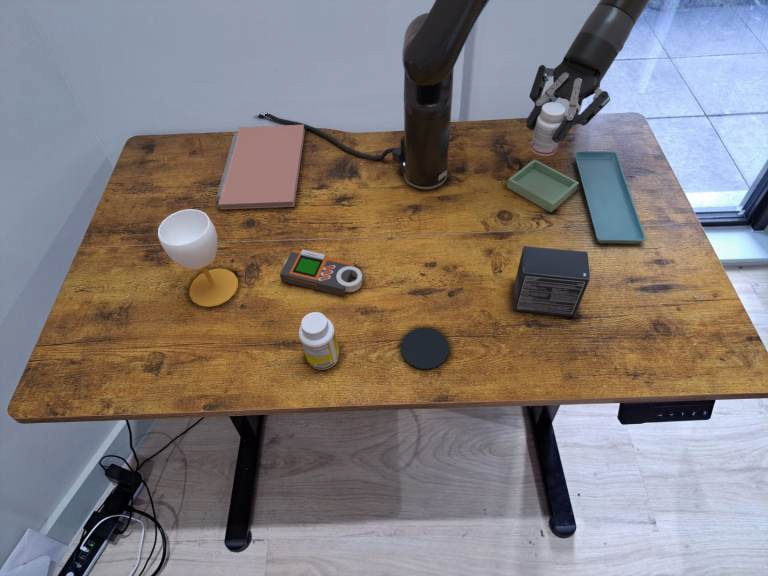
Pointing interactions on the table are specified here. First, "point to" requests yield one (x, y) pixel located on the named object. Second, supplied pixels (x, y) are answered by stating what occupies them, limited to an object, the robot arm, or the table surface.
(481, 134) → the table surface
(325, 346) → the supplement bottle
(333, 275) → the electronic device
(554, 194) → the tray
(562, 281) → the small box
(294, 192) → the notebook
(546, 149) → the pill bottle
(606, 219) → the shallow long dish
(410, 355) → the coaster
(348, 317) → the table surface
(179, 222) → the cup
